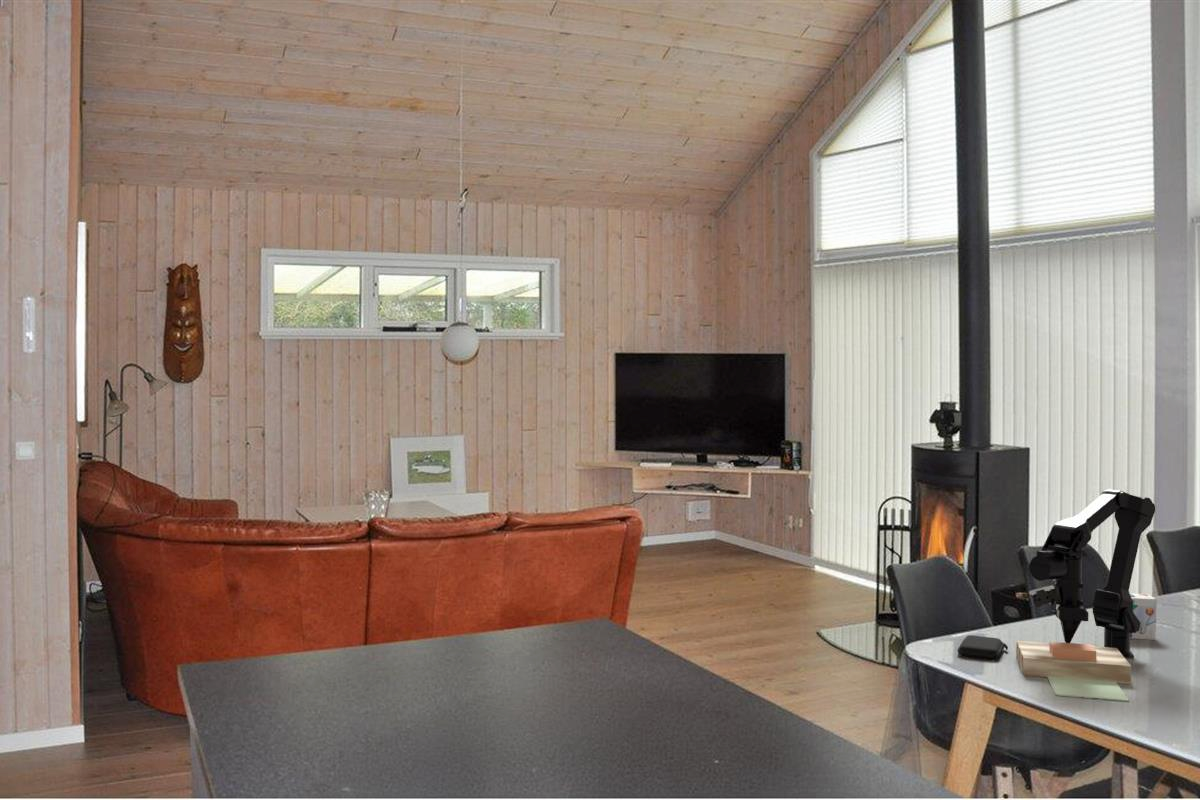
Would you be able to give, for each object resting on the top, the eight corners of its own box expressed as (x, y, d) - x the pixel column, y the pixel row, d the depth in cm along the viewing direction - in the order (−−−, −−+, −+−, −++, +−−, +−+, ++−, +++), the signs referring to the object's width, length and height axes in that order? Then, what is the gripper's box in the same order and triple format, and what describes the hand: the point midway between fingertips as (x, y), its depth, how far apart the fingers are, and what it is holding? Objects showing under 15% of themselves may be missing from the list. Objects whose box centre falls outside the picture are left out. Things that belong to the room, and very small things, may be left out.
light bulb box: (1112, 638, 267) (1113, 597, 266) (1104, 632, 273) (1105, 591, 273) (1157, 640, 265) (1157, 598, 264) (1148, 633, 271) (1148, 593, 271)
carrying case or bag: (1003, 664, 242) (1009, 650, 255) (1003, 651, 242) (1009, 637, 255) (956, 658, 247) (964, 644, 260) (956, 646, 247) (964, 632, 260)
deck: (1016, 657, 247) (1016, 640, 247) (1116, 664, 241) (1116, 648, 241) (1023, 675, 232) (1023, 657, 232) (1130, 683, 226) (1131, 666, 225)
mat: (1047, 677, 230) (1047, 675, 230) (1115, 682, 226) (1115, 681, 226) (1055, 695, 217) (1055, 693, 217) (1128, 701, 213) (1128, 700, 213)
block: (1049, 650, 239) (1049, 641, 239) (1091, 653, 236) (1091, 644, 236) (1052, 656, 233) (1053, 647, 233) (1096, 660, 230) (1096, 651, 230)
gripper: (1027, 568, 253) (1026, 630, 253) (1036, 582, 235) (1035, 649, 235) (1076, 570, 250) (1075, 634, 250) (1089, 585, 232) (1088, 653, 232)
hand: (1067, 642), depth 242 cm, fingers closed
